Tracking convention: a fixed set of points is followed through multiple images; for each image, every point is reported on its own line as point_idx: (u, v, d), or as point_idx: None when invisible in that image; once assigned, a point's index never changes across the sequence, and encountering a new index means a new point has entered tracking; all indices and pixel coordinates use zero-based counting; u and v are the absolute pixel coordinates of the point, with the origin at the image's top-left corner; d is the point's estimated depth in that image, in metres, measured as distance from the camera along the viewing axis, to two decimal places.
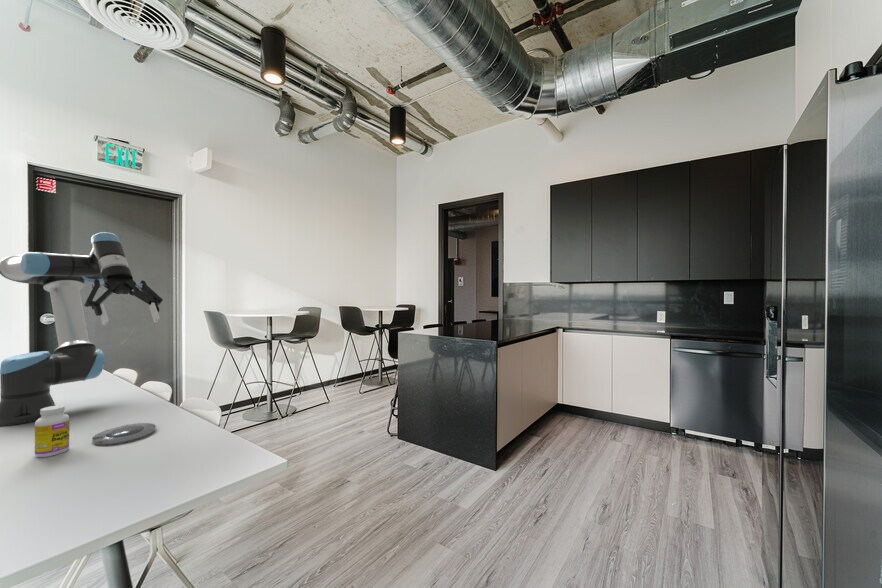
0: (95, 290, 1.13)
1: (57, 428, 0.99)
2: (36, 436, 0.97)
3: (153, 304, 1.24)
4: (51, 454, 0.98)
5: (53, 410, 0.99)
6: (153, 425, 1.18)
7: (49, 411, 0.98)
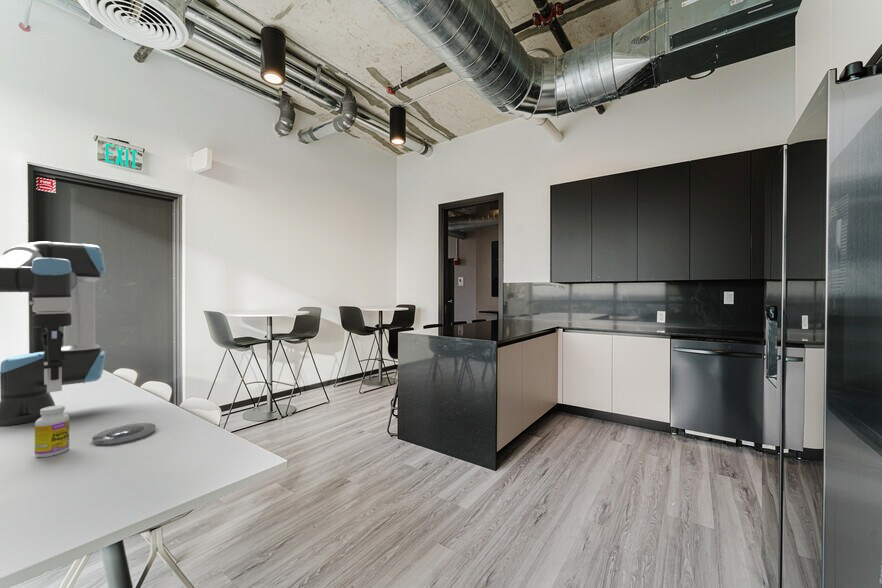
0: None
1: (57, 428, 0.99)
2: (36, 436, 0.97)
3: (46, 371, 0.95)
4: (51, 454, 0.98)
5: (53, 410, 0.99)
6: (153, 425, 1.18)
7: (49, 411, 0.98)
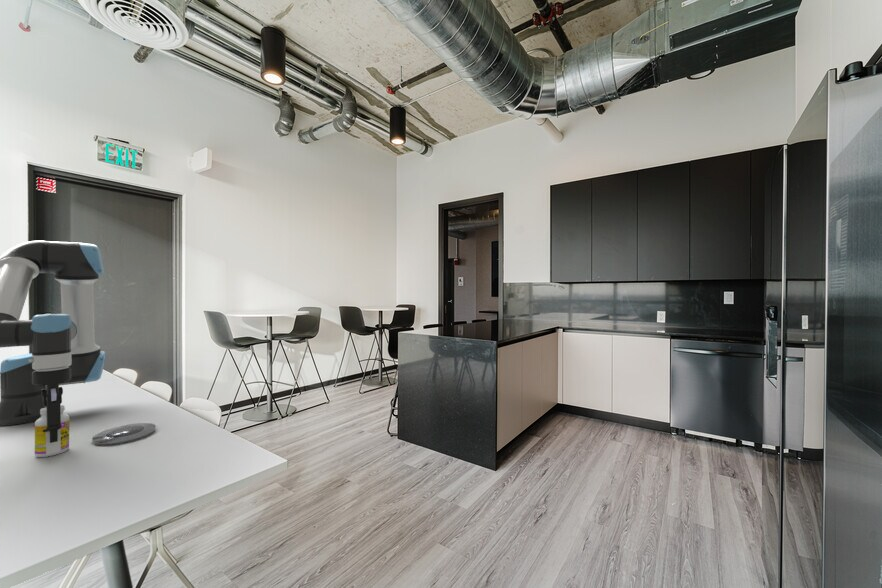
0: None
1: None
2: (36, 436, 0.97)
3: (46, 434, 0.97)
4: (51, 454, 0.98)
5: None
6: (153, 425, 1.18)
7: None
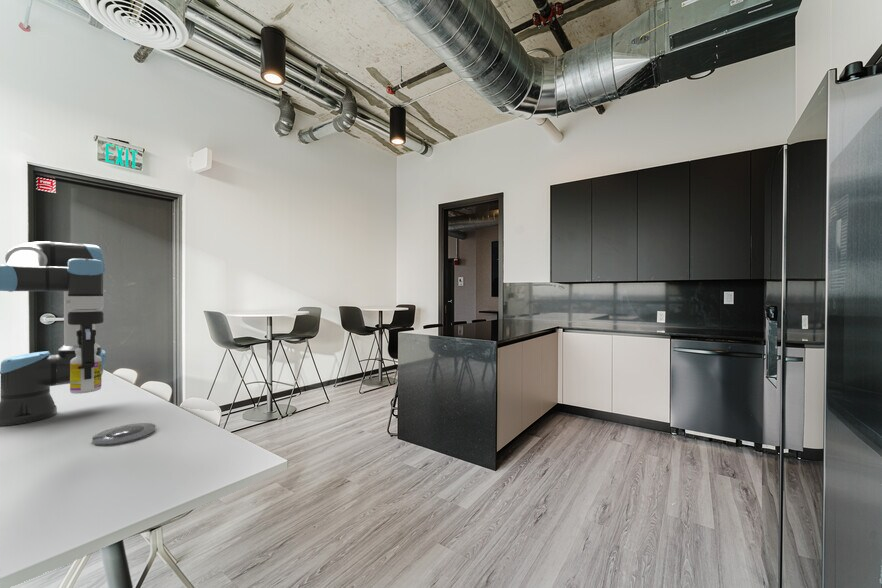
0: (79, 345, 1.08)
1: None
2: (71, 373, 1.02)
3: None
4: (85, 391, 1.03)
5: None
6: (153, 425, 1.18)
7: None
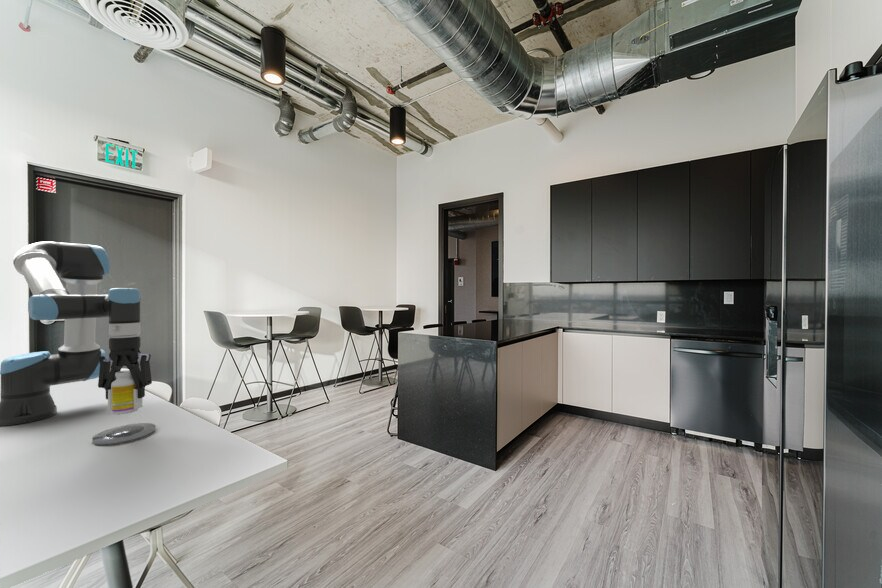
0: (102, 371, 1.10)
1: None
2: (122, 395, 1.09)
3: (134, 391, 1.11)
4: None
5: None
6: (153, 425, 1.18)
7: None
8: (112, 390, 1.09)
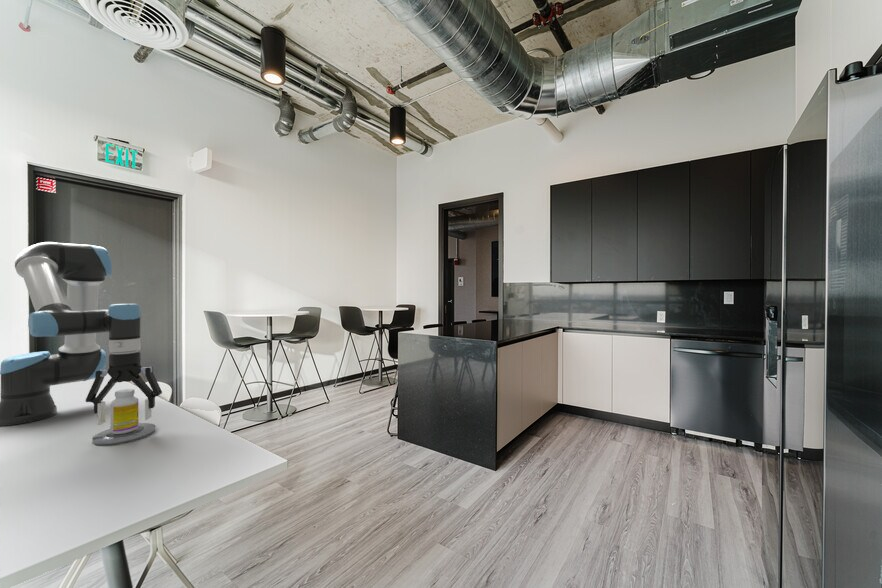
0: (95, 385, 1.09)
1: None
2: (125, 415, 1.10)
3: (146, 402, 1.13)
4: (136, 428, 1.13)
5: (133, 391, 1.13)
6: (153, 425, 1.18)
7: (132, 391, 1.12)
8: (113, 410, 1.09)
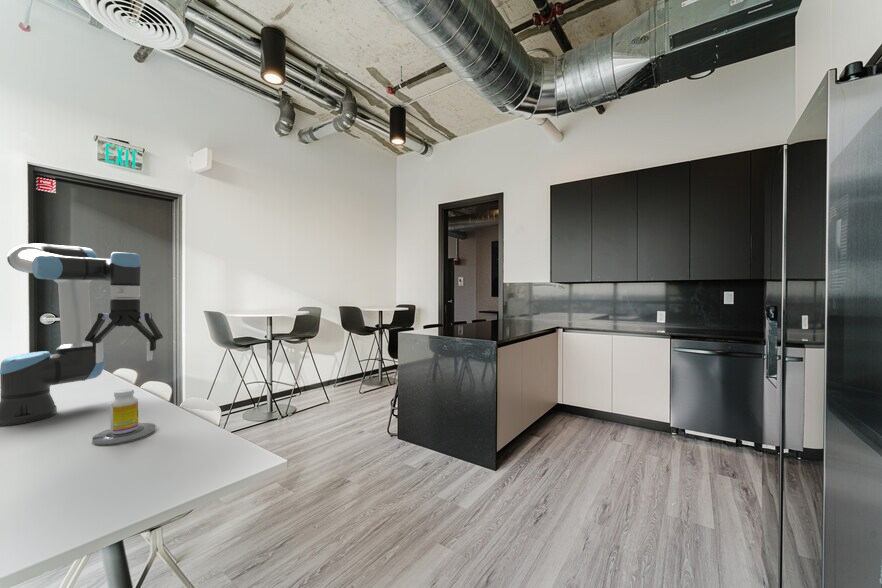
0: (95, 327, 1.15)
1: (137, 405, 1.14)
2: (124, 415, 1.10)
3: (147, 344, 1.20)
4: (136, 428, 1.13)
5: (133, 390, 1.13)
6: (153, 425, 1.18)
7: (131, 391, 1.12)
8: (113, 410, 1.09)
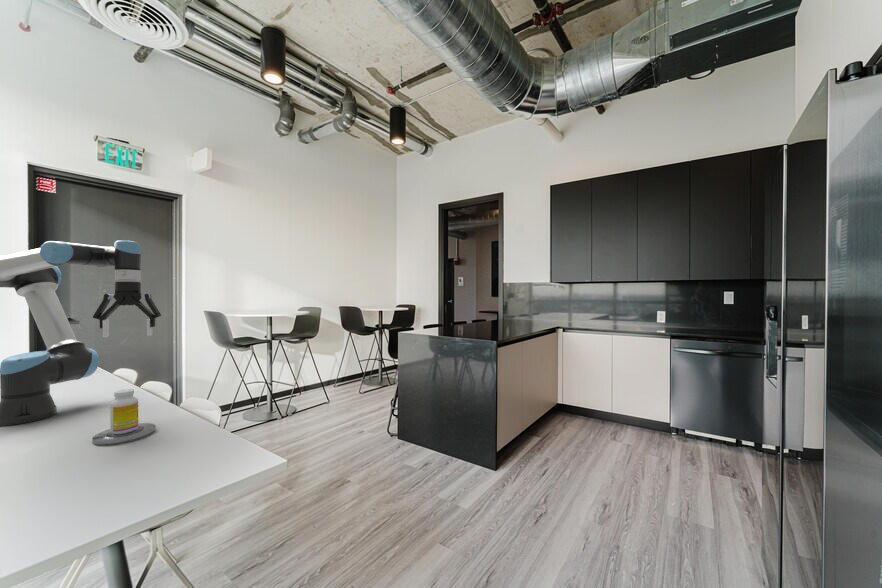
0: (102, 306, 1.32)
1: None
2: (125, 415, 1.10)
3: (148, 321, 1.37)
4: (136, 428, 1.13)
5: (133, 391, 1.13)
6: (153, 425, 1.18)
7: (132, 391, 1.12)
8: (113, 410, 1.09)
